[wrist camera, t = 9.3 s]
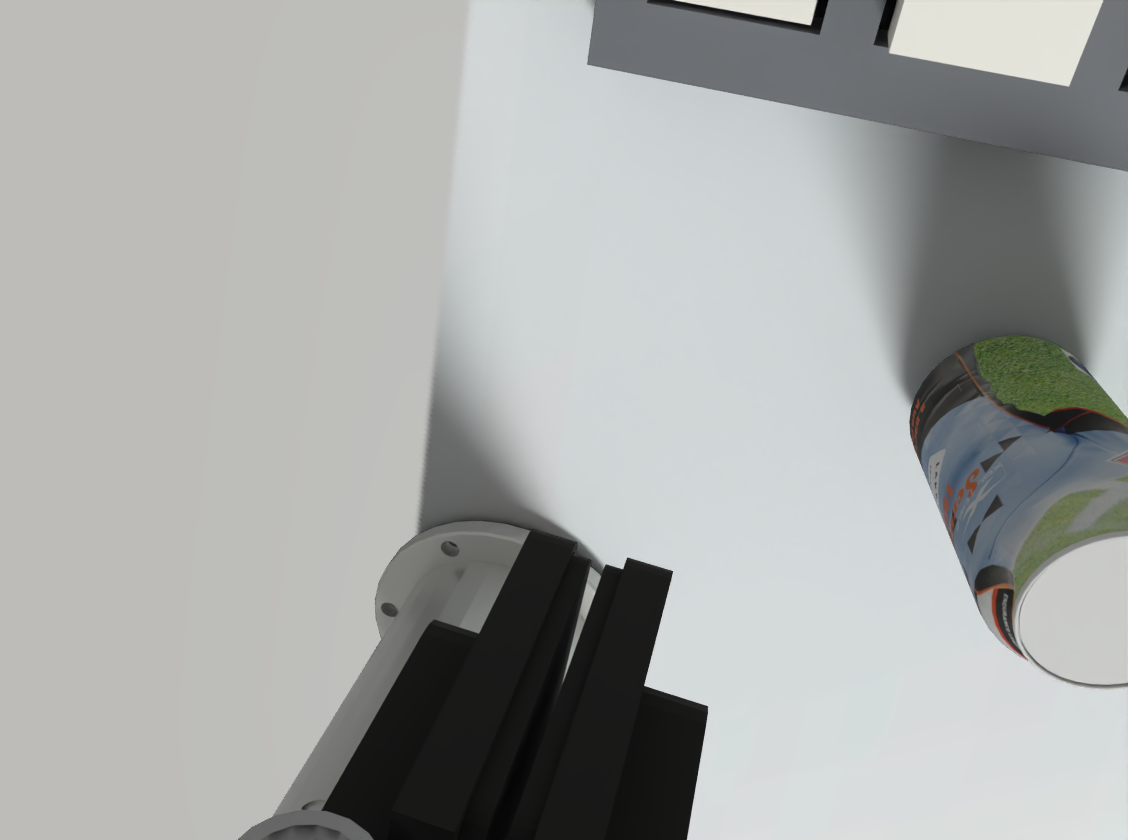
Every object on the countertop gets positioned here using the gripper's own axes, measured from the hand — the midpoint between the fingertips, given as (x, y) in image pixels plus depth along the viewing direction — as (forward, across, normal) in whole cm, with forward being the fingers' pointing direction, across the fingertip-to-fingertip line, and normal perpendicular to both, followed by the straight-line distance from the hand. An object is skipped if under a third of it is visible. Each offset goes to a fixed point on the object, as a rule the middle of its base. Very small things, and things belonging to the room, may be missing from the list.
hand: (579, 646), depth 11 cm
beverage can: (+25, -11, +6) cm, 28 cm away
